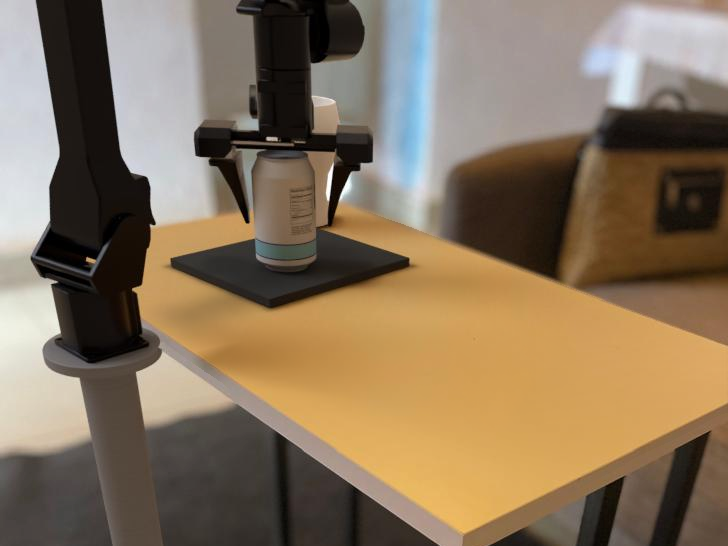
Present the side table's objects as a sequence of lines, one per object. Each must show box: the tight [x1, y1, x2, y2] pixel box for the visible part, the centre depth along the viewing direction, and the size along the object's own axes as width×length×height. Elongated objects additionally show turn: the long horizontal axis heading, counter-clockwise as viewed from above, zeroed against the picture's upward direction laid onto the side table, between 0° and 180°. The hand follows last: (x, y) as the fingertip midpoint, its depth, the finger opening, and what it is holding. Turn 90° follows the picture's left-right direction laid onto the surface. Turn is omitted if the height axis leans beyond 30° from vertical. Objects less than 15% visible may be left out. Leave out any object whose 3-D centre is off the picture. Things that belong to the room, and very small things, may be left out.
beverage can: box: [250, 150, 317, 272], centre depth 94 cm, size 7×7×12 cm
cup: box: [267, 95, 341, 228], centre depth 112 cm, size 11×11×15 cm
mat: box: [169, 227, 411, 309], centre depth 100 cm, size 22×18×1 cm
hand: (288, 224), depth 95 cm, fingers open, 9 cm apart
